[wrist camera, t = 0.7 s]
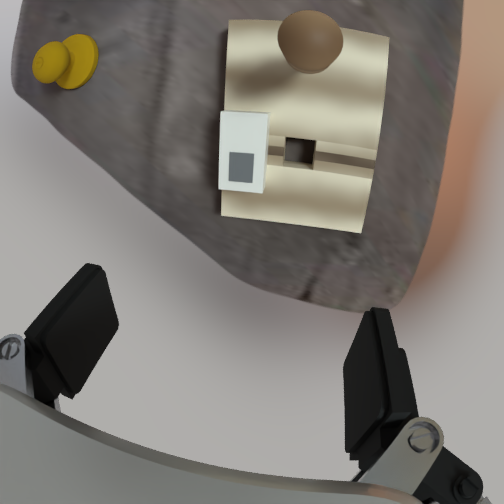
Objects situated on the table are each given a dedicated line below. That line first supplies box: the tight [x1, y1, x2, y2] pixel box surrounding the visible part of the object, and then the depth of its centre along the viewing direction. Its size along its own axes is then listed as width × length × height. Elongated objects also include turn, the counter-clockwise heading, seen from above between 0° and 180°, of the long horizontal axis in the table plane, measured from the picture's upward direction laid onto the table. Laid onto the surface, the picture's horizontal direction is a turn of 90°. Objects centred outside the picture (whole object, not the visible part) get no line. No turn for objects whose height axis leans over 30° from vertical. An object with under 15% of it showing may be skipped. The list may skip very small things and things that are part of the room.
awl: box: [277, 10, 343, 74], centre depth 20 cm, size 4×4×12 cm
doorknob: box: [32, 34, 98, 89], centre depth 27 cm, size 8×8×8 cm
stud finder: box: [219, 110, 271, 193], centre depth 30 cm, size 8×4×2 cm, turn 176°
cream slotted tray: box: [221, 20, 389, 233], centre depth 30 cm, size 22×16×3 cm
